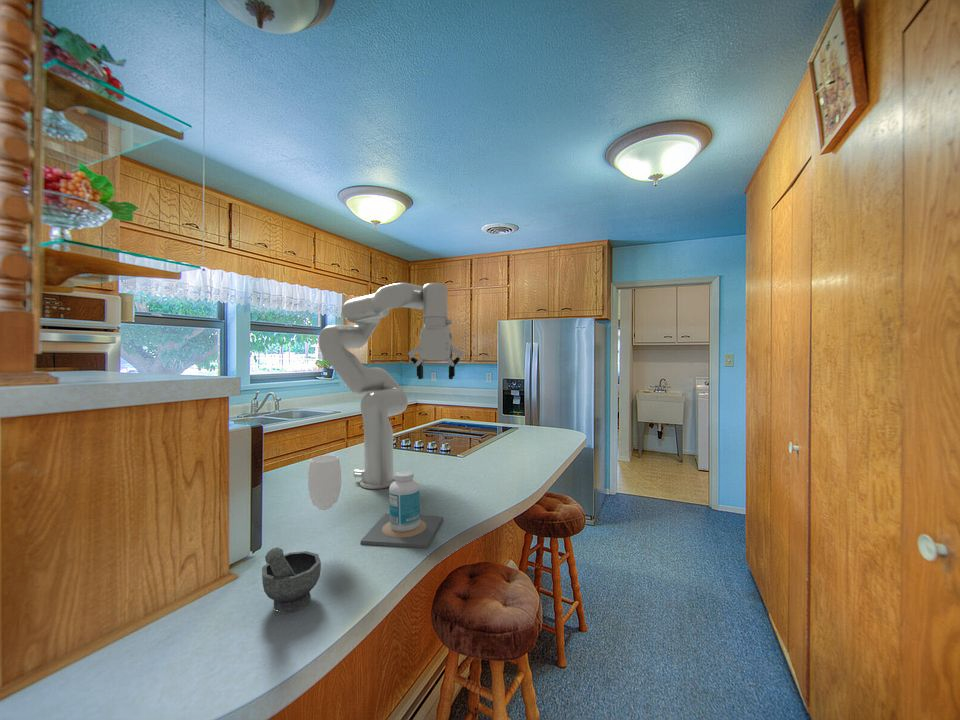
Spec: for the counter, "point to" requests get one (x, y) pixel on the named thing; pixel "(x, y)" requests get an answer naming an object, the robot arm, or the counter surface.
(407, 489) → the pill bottle
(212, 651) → the counter surface
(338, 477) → the cup
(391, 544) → the rest mat
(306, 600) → the mortar and pestle
